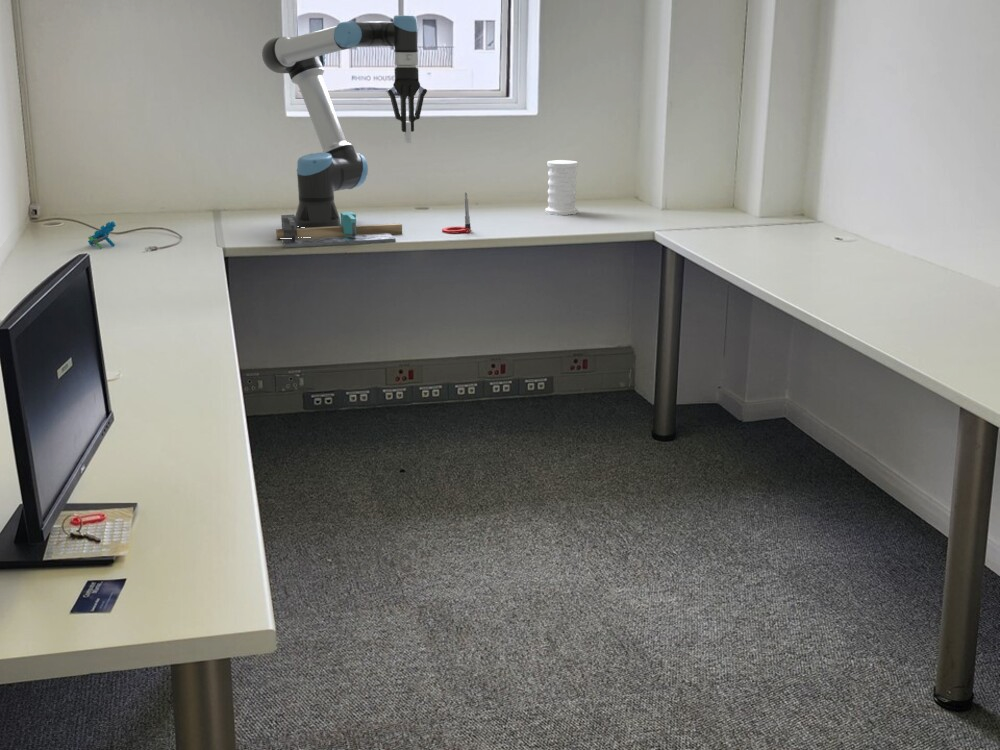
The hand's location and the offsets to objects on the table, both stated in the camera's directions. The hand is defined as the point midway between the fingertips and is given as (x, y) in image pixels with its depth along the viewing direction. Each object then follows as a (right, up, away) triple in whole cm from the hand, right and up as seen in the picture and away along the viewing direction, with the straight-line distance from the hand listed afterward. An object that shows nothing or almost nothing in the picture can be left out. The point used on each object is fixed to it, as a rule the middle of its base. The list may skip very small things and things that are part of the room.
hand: (408, 142), depth 363 cm
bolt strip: (-21, -34, -12) cm, 41 cm away
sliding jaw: (-18, -31, -6) cm, 36 cm away
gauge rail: (-20, -32, -6) cm, 38 cm away
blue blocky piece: (-92, -36, -19) cm, 100 cm away
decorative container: (+52, -17, +42) cm, 69 cm away
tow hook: (+15, -28, +6) cm, 33 cm away
